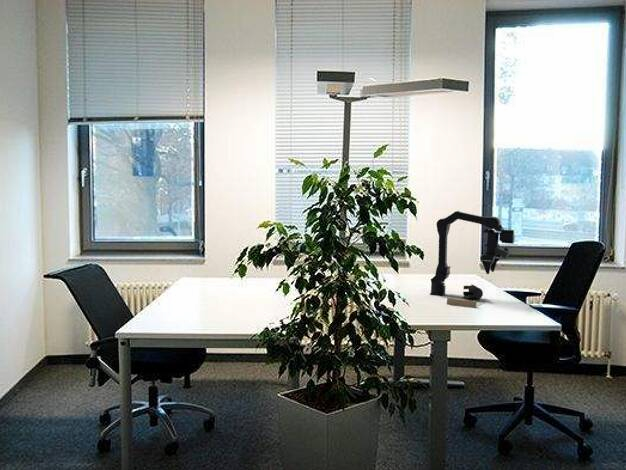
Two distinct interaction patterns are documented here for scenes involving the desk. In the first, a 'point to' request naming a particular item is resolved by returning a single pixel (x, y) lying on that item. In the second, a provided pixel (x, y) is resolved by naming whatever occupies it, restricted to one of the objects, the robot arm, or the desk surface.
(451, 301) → the mat
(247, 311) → the desk surface
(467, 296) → the end cap
